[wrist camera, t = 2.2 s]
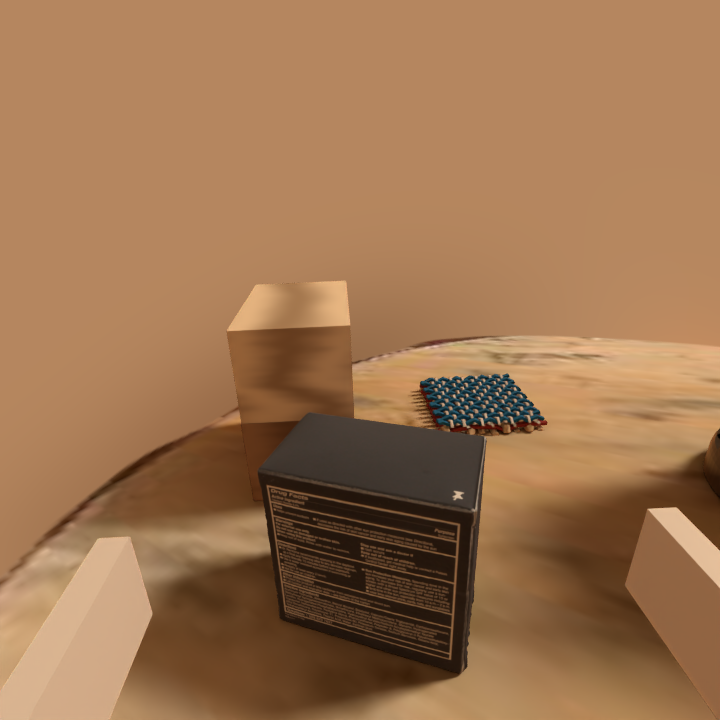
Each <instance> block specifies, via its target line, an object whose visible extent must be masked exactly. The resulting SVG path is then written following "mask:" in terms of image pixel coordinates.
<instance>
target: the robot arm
mask: <svg viewBox="0 0 720 720" xmlns="http://www.w3.org/2000/svg"><path fill="white" fill-rule="evenodd" d="M703 469H704V474H705V476H706V479H707V481H708V482H709V484H710V486H711V487H712V488H713V490H714V491H715V492H716V493H717V495H718V496H719V497H720V429H719V430H718V431H717V432H716V433H715V434H714V436H713V438H712V439H711V442H710V445H709V447H708V450H707V453H706V456H705V459H704V463H703ZM625 587H626V588H627V590H628V591H629V592H630V594H631V595H632V597H633V598H634V600H635V601H636V603H637V604H638V606H639V607H640V608H641V610H642V611H643V613H644V614H645V616H646V617H647V619H648V620H649V621H650V623H651V624H652V626H653V627H654V629H655V630H656V632H657V633H658V634H659V636H660V637H661V639H662V640H663V642H664V643H665V645H666V646H667V647H668V649H669V650H670V652H671V653H672V655H673V656H674V658H675V659H676V660H677V662H678V663H679V665H680V666H681V668H682V669H683V671H684V672H685V673H686V675H687V676H688V678H689V679H690V681H691V682H692V684H693V685H694V687H695V688H696V689H697V691H698V692H699V694H700V695H701V697H702V698H703V700H704V701H705V702H706V704H707V705H708V707H709V708H710V710H711V711H712V713H713V714H714V715H715V717H716V718H717V720H720V550H719V549H718V548H717V547H716V546H715V545H714V544H713V543H712V542H711V541H710V540H709V539H708V538H707V537H706V536H705V535H704V534H703V533H702V532H701V531H700V530H699V529H698V528H697V527H696V526H695V525H694V524H693V523H692V522H691V521H690V520H689V519H688V518H687V517H686V516H685V515H684V514H683V513H682V512H681V511H680V510H679V509H678V508H677V507H673V508H654V509H647V512H646V515H645V519H644V522H643V526H642V529H641V532H640V536H639V539H638V542H637V546H636V549H635V553H634V556H633V559H632V563H631V566H630V569H629V573H628V576H627V579H626V583H625ZM152 614H153V613H152V610H151V606H150V603H149V600H148V596H147V593H146V589H145V586H144V583H143V579H142V576H141V573H140V569H139V566H138V563H137V559H136V556H135V552H134V549H133V546H132V542H131V539H130V537H112V538H98V539H97V541H96V542H95V544H94V546H93V547H92V549H91V550H90V552H89V553H88V555H87V556H86V558H85V560H84V561H83V563H82V564H81V566H80V567H79V569H78V571H77V572H76V574H75V575H74V577H73V578H72V580H71V581H70V583H69V585H68V586H67V588H66V589H65V591H64V592H63V594H62V596H61V597H60V599H59V600H58V602H57V603H56V605H55V606H54V608H53V610H52V611H51V613H50V614H49V616H48V617H47V619H46V620H45V622H44V624H43V625H42V627H41V628H40V630H39V631H38V633H37V635H36V636H35V638H34V639H33V641H32V642H31V644H30V645H29V647H28V649H27V650H26V652H25V653H24V655H23V656H22V658H21V660H20V661H19V663H18V664H17V666H16V667H15V669H14V670H13V672H12V674H11V675H10V677H9V678H8V680H7V681H6V683H5V685H4V686H3V688H2V689H1V691H0V720H109V719H110V717H111V714H112V712H113V710H114V707H115V705H116V702H117V700H118V697H119V695H120V692H121V690H122V688H123V685H124V683H125V680H126V678H127V675H128V673H129V671H130V668H131V666H132V663H133V661H134V658H135V656H136V653H137V651H138V649H139V646H140V644H141V641H142V639H143V636H144V634H145V631H146V629H147V627H148V624H149V622H150V619H151V617H152Z"/></svg>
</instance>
